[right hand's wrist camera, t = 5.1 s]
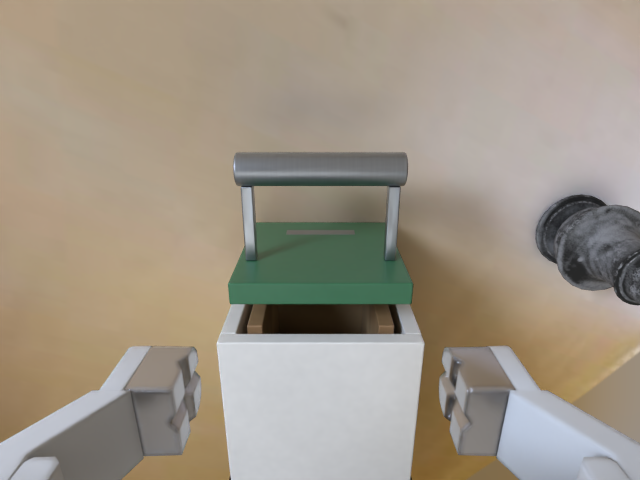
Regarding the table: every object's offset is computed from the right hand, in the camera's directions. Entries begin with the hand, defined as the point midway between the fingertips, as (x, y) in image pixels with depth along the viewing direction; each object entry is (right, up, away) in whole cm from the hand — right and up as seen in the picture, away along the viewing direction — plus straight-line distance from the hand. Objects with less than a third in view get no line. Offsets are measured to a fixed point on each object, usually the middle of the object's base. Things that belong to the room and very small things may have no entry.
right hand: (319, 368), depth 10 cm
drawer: (0, 0, +21) cm, 21 cm away
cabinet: (0, -6, +24) cm, 25 cm away
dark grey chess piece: (+18, +4, +20) cm, 27 cm away
